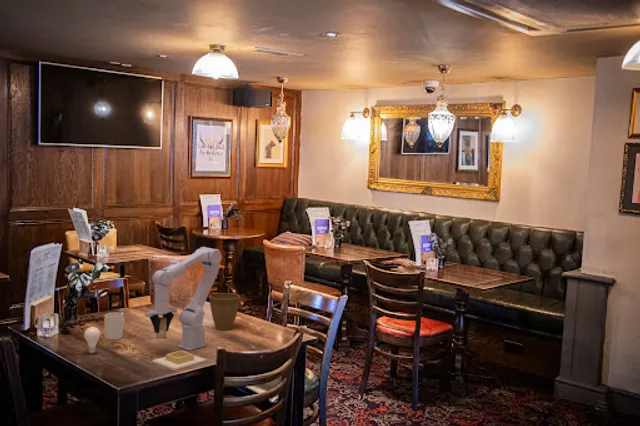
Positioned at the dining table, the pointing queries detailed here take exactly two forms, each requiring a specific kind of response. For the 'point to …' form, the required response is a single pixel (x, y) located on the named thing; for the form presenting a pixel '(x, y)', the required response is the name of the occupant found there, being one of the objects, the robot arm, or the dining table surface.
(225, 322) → the plant pot
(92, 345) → the lightbulb
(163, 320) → the birch peg
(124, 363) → the dining table surface
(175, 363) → the socket plate
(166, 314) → the robot arm
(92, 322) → the dining table surface
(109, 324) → the mug
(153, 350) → the dining table surface
